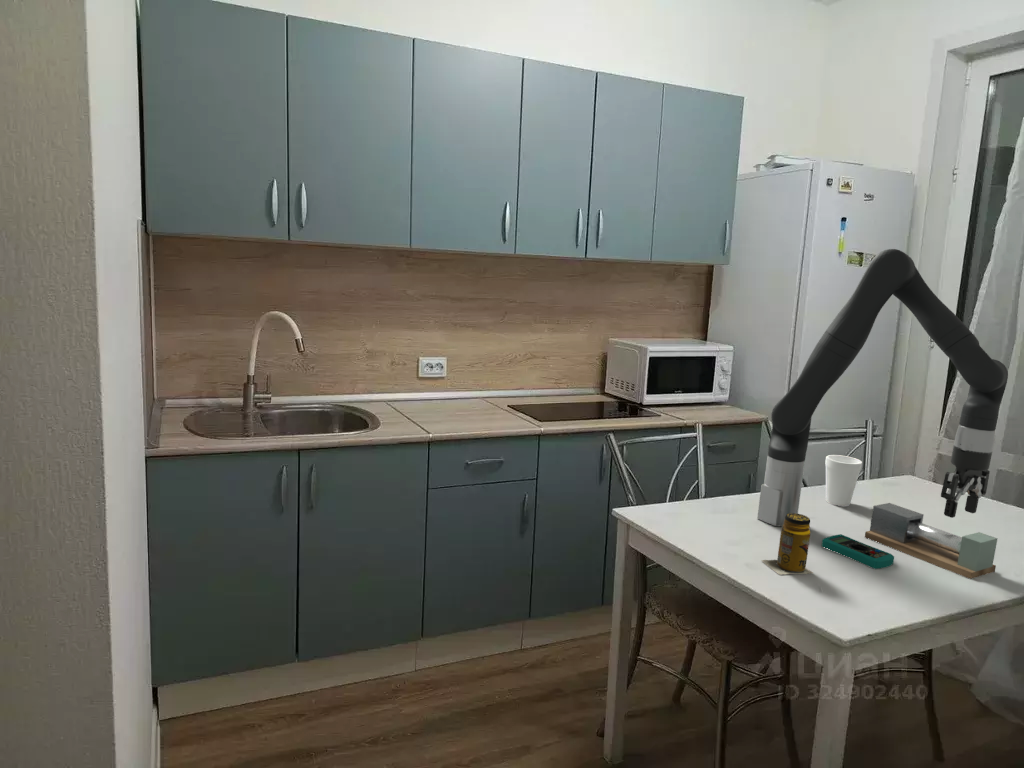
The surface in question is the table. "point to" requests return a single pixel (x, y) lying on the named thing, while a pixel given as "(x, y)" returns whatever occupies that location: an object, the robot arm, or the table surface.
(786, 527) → the condiment
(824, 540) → the digital multimeter
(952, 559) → the board
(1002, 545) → the table surface
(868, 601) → the table surface
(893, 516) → the sleeve
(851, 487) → the foam cup
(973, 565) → the socket
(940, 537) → the tube
